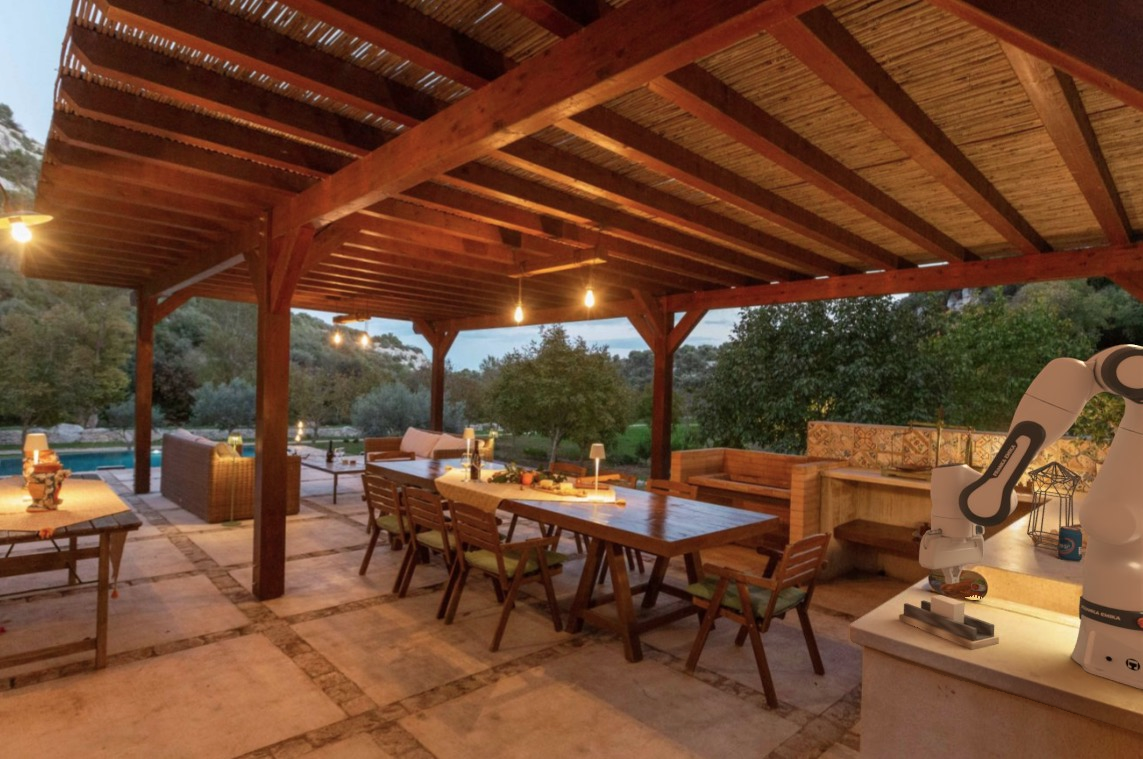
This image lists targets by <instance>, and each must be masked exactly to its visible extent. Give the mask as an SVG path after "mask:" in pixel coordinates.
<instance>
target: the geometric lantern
mask: <svg viewBox="0 0 1143 759" xmlns="http://www.w3.org/2000/svg"><path fill="white" fill-rule="evenodd" d="M1051 468H1052V469H1051ZM1057 468H1058V470H1059V472H1060V473H1061V475H1060V474H1058V472H1057ZM1050 469H1051V473H1048V472H1049V471H1050ZM1039 473H1040V474H1039ZM1027 474H1028V475H1029V477H1030V479H1031V482H1032V493H1033V495H1032V501H1031V507H1030V508H1031V509H1030V514H1029V517H1028V518H1029V519H1028V525H1027V530H1026V531H1027V532H1026V533H1027V534H1026V535H1028V536H1029V537H1030V538H1031V539H1032V540H1033V541H1034V542H1035V543H1034V547H1036V548H1041V549H1046V550H1052V551H1057V552H1058V544H1055V543H1058V541H1059V539H1056V538H1051V537H1049V536H1047V537H1046V536H1042V534H1047V535H1053V536H1056V537H1057V536H1058V537H1059V533H1053V532H1047V531H1043V526H1044V519H1045V518H1044V516H1045V508H1046V498H1047V496H1049V497H1055V498H1059V517H1058V519H1059V522H1058V531H1059V530H1060V529H1061V526H1062V504H1063V501H1062V499H1064V500H1065V510H1064V511H1065V512H1064V513H1065V518H1064V519H1065V526H1068V527H1070V517H1071V527H1074V497H1073V496H1074V494H1075V490H1076V488H1077V485H1078V484H1079V482H1080V481H1081V479H1082V478H1083V477H1082V476H1081V475H1078V474H1077V473H1076V472H1074V471H1072V470H1070V469H1069V468H1067V467H1066V466H1064V465H1063V464H1061V463H1060V462H1059V461H1050V462H1049V463H1047V464H1045V465H1042V466H1040V467H1037V468H1036V469H1033V470H1030V471H1029V472H1027ZM1049 475H1050V476H1049ZM1038 476H1039V477H1038ZM1040 477H1041V478H1042V479H1041V478H1040ZM1044 478H1046V479H1050V482H1045V479H1044ZM1057 480H1058V481H1057ZM1038 481H1039V482H1040V483H1042V484H1041V486H1040V485H1039V483H1038ZM1070 481H1071V482H1072V486H1070V487H1069V489H1067V486H1066V485H1065V484H1067V483H1069V482H1070ZM1035 482H1036V484H1037V486H1038V489H1037V490H1035ZM1056 484H1063V487H1064V488H1065V490H1066V493H1060V492H1059V490H1058V488H1057V487H1056V486H1055V485H1056ZM1044 485H1049V486H1047V488H1046V489H1045V490H1042V487H1043V486H1044ZM1052 486H1053V488H1054V490H1055V491H1056V492H1052V491H1048V490H1049V489H1050V488H1051V487H1052ZM1071 490H1072V492H1071V494H1070V491H1071ZM1047 493H1049V494H1047ZM1053 494H1055V495H1053ZM1038 495H1039V496H1038ZM1042 496H1043V497H1044V498H1043V505H1042V515H1041V523H1040V530H1036V529H1037V524H1038V516H1039V510H1040V504H1041V497H1042ZM1037 497H1038V498H1037ZM1037 499H1038V501H1037ZM1036 506H1037V507H1036ZM1036 508H1037V509H1036ZM1070 514H1071V515H1070ZM1032 515H1033V516H1032ZM1031 520H1032V521H1031ZM1031 523H1032V526H1031ZM1030 527H1032V529H1031V531H1030ZM1037 533H1039V534H1037ZM1036 537H1037V538H1036ZM1045 541H1049V542H1045ZM1050 542H1052V543H1050ZM1053 542H1054V544H1053ZM1039 545H1044V546H1039ZM1045 545H1046V546H1051V547H1056V548H1051V547H1045Z"/></svg>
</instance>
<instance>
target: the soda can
mask: <svg viewBox="0 0 1143 759" xmlns="http://www.w3.org/2000/svg"><path fill="white" fill-rule="evenodd" d="M1058 534H1059V536H1058V540H1059V541H1058V542H1057V545H1058V551H1057V555H1058V557H1059V559H1060V560H1063V561H1066V562H1072V563H1079V562H1080V561H1081V560H1082V558H1083V532H1082V531H1081V528H1078V527H1075V526H1073V527H1072V526H1069V527H1068V526H1066V525H1065V526H1062V525H1061V529H1060V530H1059V529H1058Z"/></svg>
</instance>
